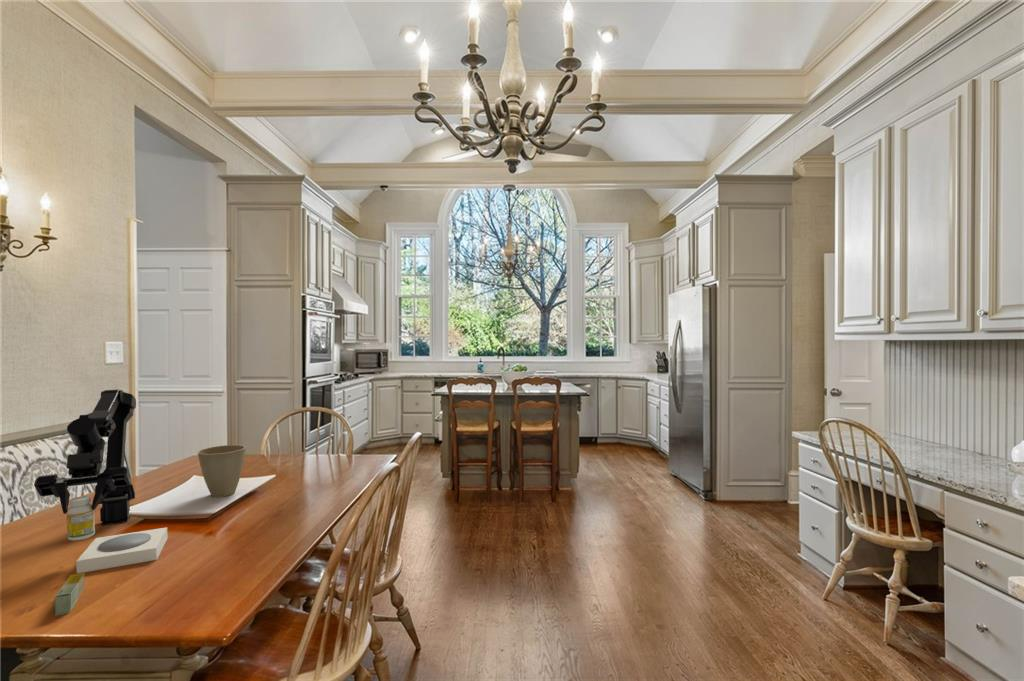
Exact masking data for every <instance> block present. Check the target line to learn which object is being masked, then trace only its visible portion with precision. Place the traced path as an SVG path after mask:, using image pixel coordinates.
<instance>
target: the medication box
mask: <svg viewBox="0 0 1024 681" xmlns="http://www.w3.org/2000/svg"><path fill="white" fill-rule="evenodd" d="M84 590H85V572H83V573H76V574H70V575H69V576H68V578H67V580H65V582H64V584H63V586H61V588H60V589H59V591H58V593H57V594H56V595H55V597H54V603H53V604H54V607H53V609H54V610H53V617H57V616H64V615H66V614H70V613H71V612H72V610H73V608H74V607H75V605H76V603H77V602H78V601H79V600H78V599H79V598H80V597H79V596H81V594H82V593H83V592H84Z"/></svg>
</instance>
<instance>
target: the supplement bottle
mask: <svg viewBox="0 0 1024 681" xmlns="http://www.w3.org/2000/svg"><path fill="white" fill-rule="evenodd" d="M69 506H70V508H69V507H68V510H67V513H66V528H67V529H66V530H67V539H68V540H69V541H79V540H85V539H88V538H90V537H91V538H92V536H94V535H95V534H96V527H95V526H96V525H95V524H96V522H95V520H96V519H95V510H92V504H91V496H88V495H83V496H77V497H73V498H71V499H69Z"/></svg>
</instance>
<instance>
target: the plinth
mask: <svg viewBox="0 0 1024 681" xmlns="http://www.w3.org/2000/svg"><path fill="white" fill-rule="evenodd" d="M168 539H169V538H168V527H167V526H166V527H161V528H154V529H147V530H140V531H134V532H128V533H120V534H115V535H114V534H113V535H108V536H102V537H101V536H100V537H96V538H94V540H93V541H92V542H91V543H90V544H89V546H88V547H87V548H86V549H85V550H84V551H83V553H81V555H80V556H79V557H78V559H77V560H76V562H75V563H76V574H81V573H89V572H95V571H100V570H106V569H112V568H117V567H118V568H119V567H123V566H129V565H134V564H140V563H147V562H150V561H157V560H158V558H159V556H160V554H161V553H162V550H163V548H164V546H165V544H166V543H167V540H168Z"/></svg>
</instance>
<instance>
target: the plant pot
mask: <svg viewBox="0 0 1024 681" xmlns="http://www.w3.org/2000/svg"><path fill="white" fill-rule="evenodd" d="M246 449H247V448H246V446H245V445H243V444H227V445H226V444H225V445H217V446H211V447H207V448H202V449H200V450H198V451H197V456H198V462H199V467H200V470H201V473H202V476H203V480H204V482H205V485H206V487H207V490H208V492H209V493H210V496H212V497H213V498H220V497H229V496H231V495H233V494H235V493H236V491H237V487H238V485H239V482H240V479H241V476H242V470H243V466H244V461H245V454H246Z"/></svg>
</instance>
